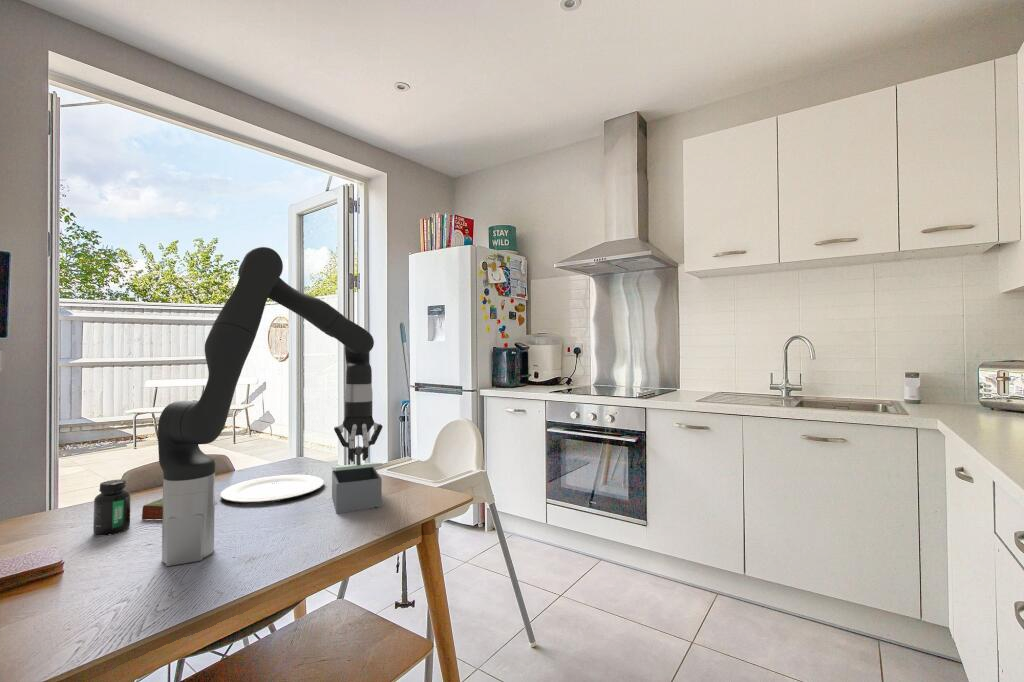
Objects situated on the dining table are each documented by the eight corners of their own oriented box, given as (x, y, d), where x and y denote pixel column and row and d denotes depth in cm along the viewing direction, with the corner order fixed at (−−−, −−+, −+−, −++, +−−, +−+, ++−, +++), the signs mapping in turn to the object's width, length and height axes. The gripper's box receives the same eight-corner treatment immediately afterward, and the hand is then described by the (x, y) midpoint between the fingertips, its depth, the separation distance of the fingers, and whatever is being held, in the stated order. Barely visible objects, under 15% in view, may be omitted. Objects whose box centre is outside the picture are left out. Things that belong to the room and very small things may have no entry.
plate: (342, 488, 149) (343, 482, 149) (250, 514, 125) (250, 507, 125) (293, 475, 166) (293, 470, 166) (202, 496, 141) (202, 490, 142)
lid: (382, 465, 131) (381, 444, 132) (335, 470, 125) (335, 447, 127) (373, 464, 145) (372, 445, 146) (331, 469, 140) (331, 448, 141)
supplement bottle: (125, 533, 112) (126, 483, 112) (88, 538, 109) (90, 487, 109) (133, 523, 118) (134, 476, 118) (98, 528, 115) (99, 480, 115)
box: (381, 507, 130) (381, 478, 130) (336, 513, 125) (336, 483, 125) (372, 491, 145) (372, 466, 145) (331, 497, 140) (332, 470, 140)
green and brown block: (215, 502, 136) (215, 488, 136) (170, 522, 120) (170, 505, 120) (189, 501, 137) (189, 487, 137) (141, 521, 121) (141, 504, 121)
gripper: (333, 401, 125) (333, 465, 125) (385, 399, 131) (385, 460, 130) (331, 399, 132) (331, 460, 131) (381, 397, 138) (381, 455, 137)
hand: (358, 460), depth 131 cm, fingers closed on lid, 2 cm apart
